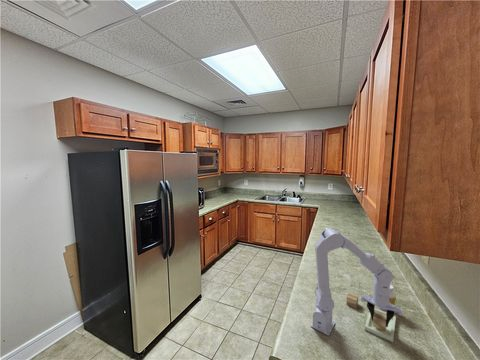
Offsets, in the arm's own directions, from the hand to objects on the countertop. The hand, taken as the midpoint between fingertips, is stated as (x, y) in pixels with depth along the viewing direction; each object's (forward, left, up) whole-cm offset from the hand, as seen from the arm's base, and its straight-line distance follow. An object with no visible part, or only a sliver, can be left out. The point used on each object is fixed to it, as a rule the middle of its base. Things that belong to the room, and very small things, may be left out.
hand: (379, 322), depth 89 cm
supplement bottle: (+17, -1, -4) cm, 17 cm away
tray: (+4, 0, -3) cm, 5 cm away
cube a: (0, 0, -2) cm, 2 cm away
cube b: (+11, +13, -3) cm, 17 cm away
